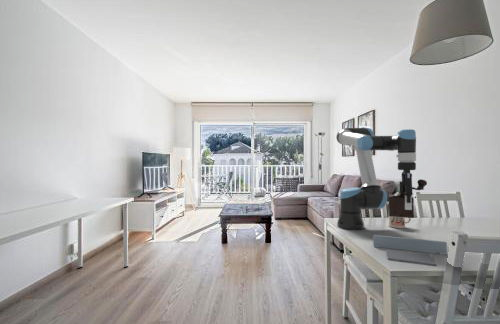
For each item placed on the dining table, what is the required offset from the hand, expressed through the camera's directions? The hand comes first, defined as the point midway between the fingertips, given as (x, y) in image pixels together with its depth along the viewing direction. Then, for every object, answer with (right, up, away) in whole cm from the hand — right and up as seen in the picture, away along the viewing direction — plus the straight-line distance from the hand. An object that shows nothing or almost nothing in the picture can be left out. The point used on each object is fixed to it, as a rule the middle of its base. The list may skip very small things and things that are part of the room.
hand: (406, 207), depth 128 cm
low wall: (-5, -17, -10) cm, 20 cm away
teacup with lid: (+14, -17, +32) cm, 39 cm away
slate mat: (-11, -17, -20) cm, 28 cm away
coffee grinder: (0, -4, 0) cm, 4 cm away
